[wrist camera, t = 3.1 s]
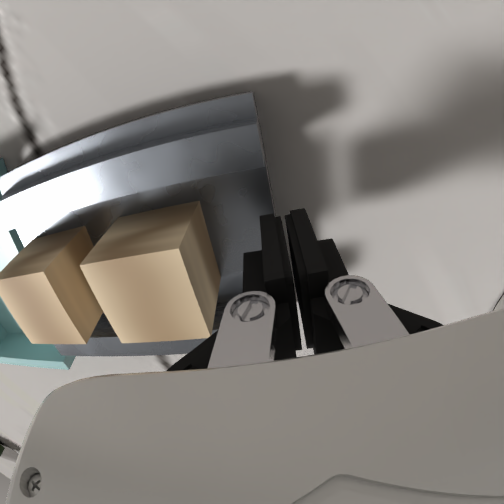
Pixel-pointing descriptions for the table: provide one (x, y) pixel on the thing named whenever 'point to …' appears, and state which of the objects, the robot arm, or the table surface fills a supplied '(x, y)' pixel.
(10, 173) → the slot rail
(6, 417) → the table surface
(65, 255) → the chip
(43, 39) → the table surface
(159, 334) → the chip
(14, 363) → the tray
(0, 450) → the character mug
